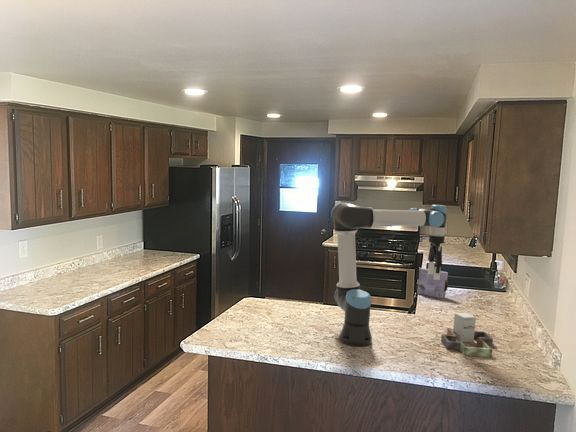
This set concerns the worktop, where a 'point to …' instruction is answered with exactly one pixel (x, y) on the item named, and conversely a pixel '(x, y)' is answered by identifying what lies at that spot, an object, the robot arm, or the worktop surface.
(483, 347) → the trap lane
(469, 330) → the supplement box
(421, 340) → the worktop surface
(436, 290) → the cake pan box
